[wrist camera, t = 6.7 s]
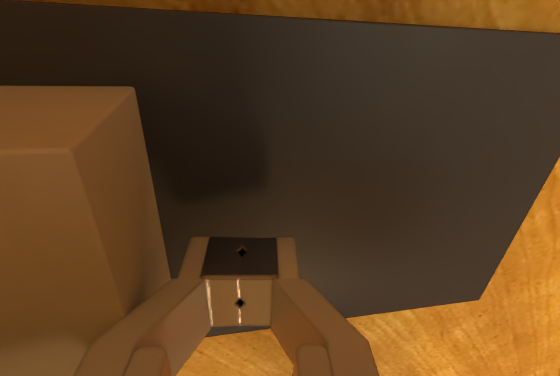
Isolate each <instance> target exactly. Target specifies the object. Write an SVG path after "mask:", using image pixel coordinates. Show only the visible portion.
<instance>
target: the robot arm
mask: <svg viewBox="0 0 560 376" xmlns="http://www.w3.org/2000/svg"><path fill="white" fill-rule="evenodd" d="M226 326H270V328H271V330H272V331H273V333H274V334H275V336H276V338H277V339H278V341H279V342H280V344H281V346H282V347H283V349H284V351H285V352H286V354H287V355H288V357H289V359H290V360H291V362H292V363H293V365H294V367H293V375H292V376H379V373H378V370H377V367H376V364H375V361H374V357H373V354H372V351H371V348H370V345H369V342H368V341H367V340H366V339H365V338H364V337H363V336H362V335H361V334H360V333H359V332H358V331H357V330H356V329H355V328H354V327H353V326H352V325H351V324H350V323H349V322H348V321H347V320H346V319H345V318H344V317H343V316H342V315H341V314H340V313H339V312H338V311H337V310H336V309H335V308H334V307H333V306H332V305H331V304H330V303H329V302H328V301H327V300H326V299H325V298H324V297H323V296H322V295H321V294H320V293H319V292H318V291H317V290H316V289H315V288H314V287H313V286H312V285H311V284H310V283H309V282H308V281H307V280H306V279H305V278H300V276H299V268H298V261H297V254H296V247H295V240H294V238H293V237H276V238H245V237H213V236H211V237H204V236H193V237H192V238H191V239H190V241H189V245H188V248H187V251H186V254H185V257H184V260H183V263H182V266H181V269H180V272H179V275H178V278H177V279H171V280H169V281H168V282H167V283H166V284H164V285H163V286H162V287H161V288H159V289H158V290H157V291H156V292H154V293H153V294H152V295H151V296H150V297H148V298H147V299H146V300H145V301H143V302H142V303H141V304H140V305H138V306H137V307H136V308H135V309H133V310H132V311H131V312H130V313H128V314H127V315H126V316H125V317H123V318H122V319H121V320H120V321H119V322H117V323H116V324H115V325H114V326H112V327H111V328H110V329H109V330H107V331H106V332H105V333H104V334H102V335H101V336H100V337H99V338H97V339H96V340H95V341H94V342H92V343H91V344H90V345H89V347H88V348H87V350H86V352H85V354H84V356H83V358H82V360H81V362H80V363H79V365H78V367H77V369H76V371H75V373H74V375H73V376H176V374H177V373H178V372H179V370H180V369H181V368H182V366H183V365H184V364H185V362H186V361H187V360H188V358H189V357H190V356H191V354H192V353H193V352H194V351H195V349H196V348H197V347H198V345H199V344H200V343H201V341H202V340H203V339H204V337H205V336H206V335H207V333H208V332H209V331H210V329H211V327H226Z"/></svg>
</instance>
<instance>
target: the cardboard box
mask: <svg viewBox="0 0 560 376" xmlns="http://www.w3.org/2000/svg"><path fill="white" fill-rule="evenodd" d="M169 280H171V277H170V272H169V266H168V261H167V256H166V250H165V245H164V240H163V235H162V229H161V224H160V219H159V214H158V208H157V203H156V198H155V193H154V187H153V182H152V177H151V172H150V166H149V161H148V156H147V150H146V145H145V140H144V135H143V129H142V124H141V119H140V114H139V108H138V103H137V98H136V93H135V89H134V88H133V87H128V86H0V376H73V375H74V373H75V371H76V369H77V367H78V365H79V363H80V362H81V360H82V358H83V356H84V354H85V352H86V350H87V348H88V347H89V345H90V344H91V343H92V342H94V341H95V340H96V339H97V338H99V337H100V336H101V335H102V334H104V333H105V332H106V331H107V330H109V329H110V328H111V327H112V326H114V325H115V324H116V323H117V322H119V321H120V320H121V319H122V318H123V317H125V316H126V315H127V314H128V313H130V312H131V311H132V310H133V309H135V308H136V307H137V306H138V305H140V304H141V303H142V302H143V301H145V300H146V299H147V298H148V297H150V296H151V295H152V294H153V293H154V292H156V291H157V290H158V289H159V288H161V287H162V286H163V285H164V284H166V283H167V282H168V281H169Z"/></svg>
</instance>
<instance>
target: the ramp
mask: <svg viewBox="0 0 560 376" xmlns="http://www.w3.org/2000/svg"><path fill="white" fill-rule="evenodd" d="M0 86H128V87H133V88H134V89H135V93H136V98H137V103H138V108H139V114H140V119H141V124H142V129H143V135H144V140H145V145H146V150H147V156H148V161H149V166H150V172H151V177H152V182H153V187H154V193H155V198H156V203H157V208H158V214H159V219H160V224H161V229H162V235H163V240H164V245H165V250H166V256H167V261H168V266H169V272H170V277H171V279H177V278H178V275H179V272H180V269H181V266H182V263H183V260H184V257H185V254H186V251H187V248H188V245H189V241H190V239H191V238H192V237H193V236H204V237H211V236H213V237H245V238H276V237H293V238H294V240H295V247H296V254H297V261H298V268H299V276H300V278H305V279H306V280H307V281H308V282H309V283H310V284H311V285H312V286H313V287H314V288H315V289H316V290H317V291H318V292H319V293H320V294H321V295H322V296H323V297H324V298H325V299H326V300H327V301H328V302H329V303H330V304H331V305H332V306H333V307H334V308H335V309H336V310H337V311H338V312H339V313H340V314H341V315H342V316H343V317H344V318H350V317H357V316H365V315H372V314H379V313H387V312H394V311H401V310H409V309H416V308H423V307H431V306H438V305H445V304H453V303H460V302H467V301H475V300H479V299H480V297H481V295H482V294H483V292H484V290H485V288H486V287H487V285H488V283H489V281H490V279H491V278H492V276H493V274H494V272H495V271H496V269H497V267H498V265H499V264H500V262H501V260H502V258H503V256H504V255H505V253H506V251H507V249H508V248H509V246H510V244H511V242H512V240H513V239H514V237H515V235H516V233H517V232H518V230H519V228H520V226H521V224H522V223H523V221H524V219H525V217H526V216H527V214H528V212H529V210H530V208H531V207H532V205H533V203H534V201H535V200H536V198H537V196H538V194H539V192H540V191H541V189H542V187H543V185H544V184H545V182H546V180H547V178H548V176H549V175H550V173H551V171H552V169H553V168H554V166H555V164H556V162H557V161H558V159H559V157H560V33H548V32H531V31H514V30H498V29H481V28H465V27H448V26H431V25H415V24H398V23H382V22H365V21H348V20H332V19H315V18H299V17H282V16H265V15H249V14H232V13H216V12H199V11H182V10H166V9H149V8H133V7H116V6H99V5H83V4H66V3H50V2H33V1H16V0H0ZM269 328H270V326H226V327H211V329H210V331H209V332H208V333H207V335H206V336H205V337H211V336H218V335H226V334H233V333H240V332H248V331H255V330H262V329H269Z"/></svg>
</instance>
